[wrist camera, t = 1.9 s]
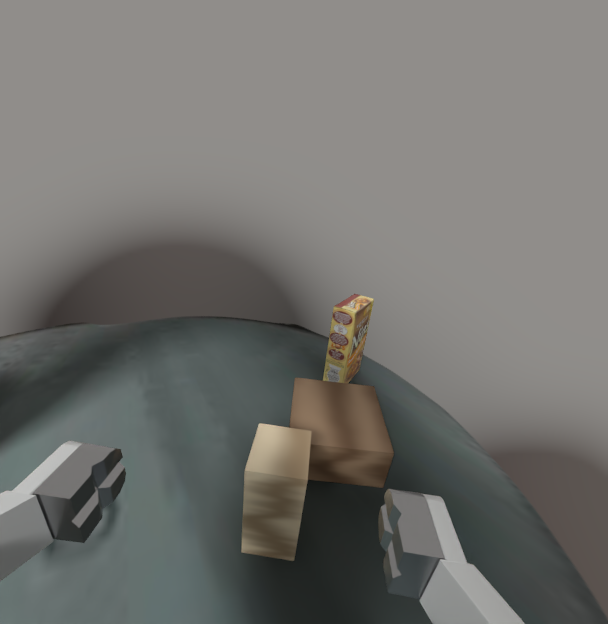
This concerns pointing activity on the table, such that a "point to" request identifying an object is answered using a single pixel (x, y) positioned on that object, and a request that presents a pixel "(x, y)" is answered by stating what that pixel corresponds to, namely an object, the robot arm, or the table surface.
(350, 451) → the walnut block
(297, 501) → the maple block
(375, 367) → the table surface
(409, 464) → the table surface
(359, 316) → the candy box
